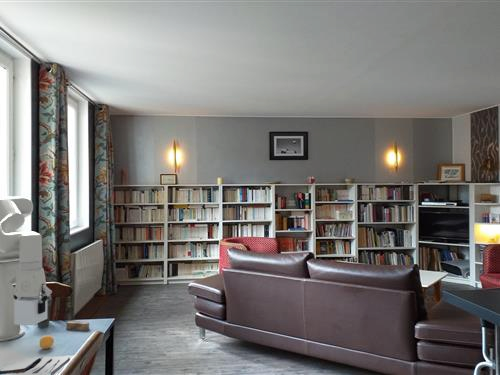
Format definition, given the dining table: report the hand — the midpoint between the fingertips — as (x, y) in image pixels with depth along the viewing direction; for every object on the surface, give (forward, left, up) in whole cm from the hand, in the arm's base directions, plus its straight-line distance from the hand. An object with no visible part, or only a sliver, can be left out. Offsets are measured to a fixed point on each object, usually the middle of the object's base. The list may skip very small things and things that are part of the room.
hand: (31, 312), depth 144 cm
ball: (+1, +7, -14) cm, 16 cm away
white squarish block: (0, 0, -3) cm, 3 cm away
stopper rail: (0, +28, -16) cm, 32 cm away
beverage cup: (-19, +29, -17) cm, 39 cm away
